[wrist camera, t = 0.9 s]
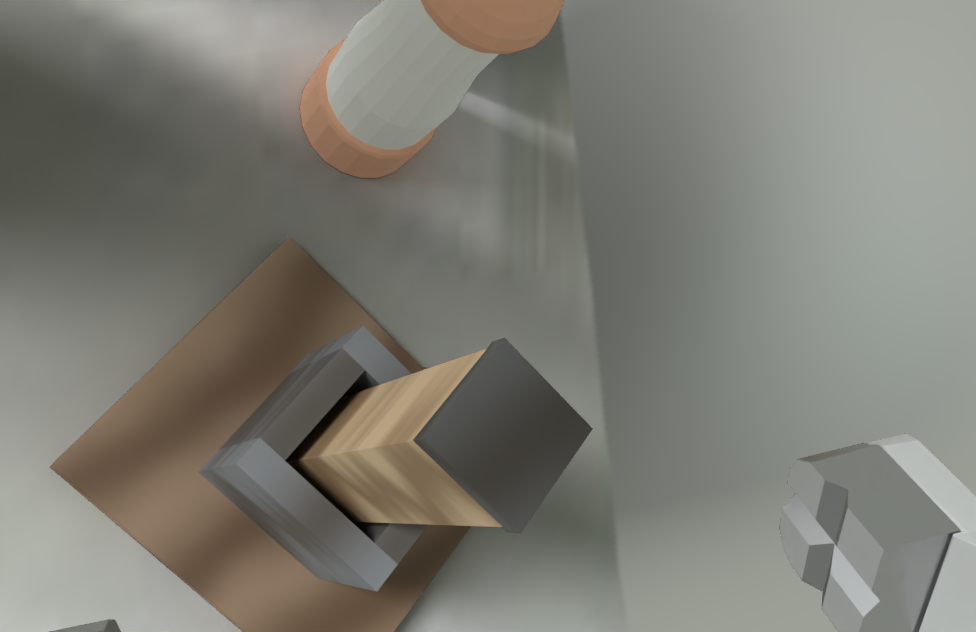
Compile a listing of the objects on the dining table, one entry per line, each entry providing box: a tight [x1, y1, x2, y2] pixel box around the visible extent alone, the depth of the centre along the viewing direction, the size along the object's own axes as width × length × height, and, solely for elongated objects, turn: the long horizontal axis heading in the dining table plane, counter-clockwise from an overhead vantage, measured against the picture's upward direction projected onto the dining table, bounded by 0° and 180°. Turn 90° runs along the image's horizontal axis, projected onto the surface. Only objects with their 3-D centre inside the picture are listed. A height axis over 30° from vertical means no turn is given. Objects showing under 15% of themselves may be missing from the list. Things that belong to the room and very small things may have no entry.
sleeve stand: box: [50, 236, 471, 632], centre depth 43 cm, size 18×16×10 cm
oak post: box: [285, 338, 592, 533], centre depth 36 cm, size 4×4×21 cm
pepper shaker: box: [300, 0, 563, 178], centre depth 44 cm, size 7×7×19 cm
